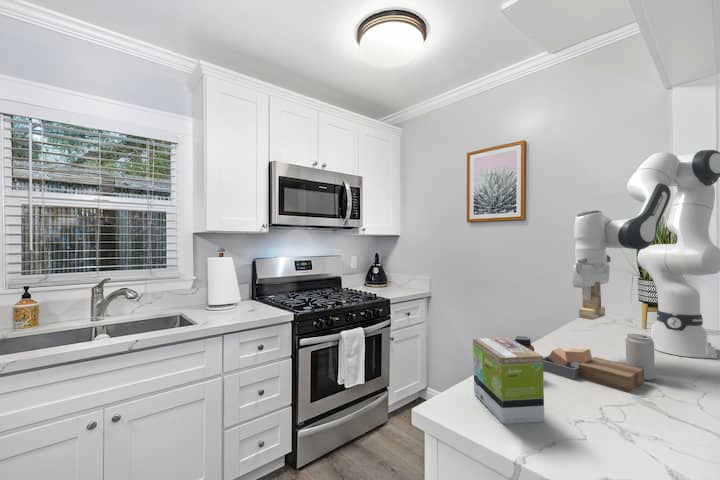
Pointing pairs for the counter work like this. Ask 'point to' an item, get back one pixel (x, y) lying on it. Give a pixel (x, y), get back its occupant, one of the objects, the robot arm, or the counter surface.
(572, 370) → the tray
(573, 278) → the robot arm
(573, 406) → the counter surface
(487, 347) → the tea box
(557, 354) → the peach square block
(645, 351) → the beverage can
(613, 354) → the counter surface
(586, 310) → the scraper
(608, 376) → the board
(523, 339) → the supplement bottle
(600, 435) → the counter surface
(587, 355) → the tile
